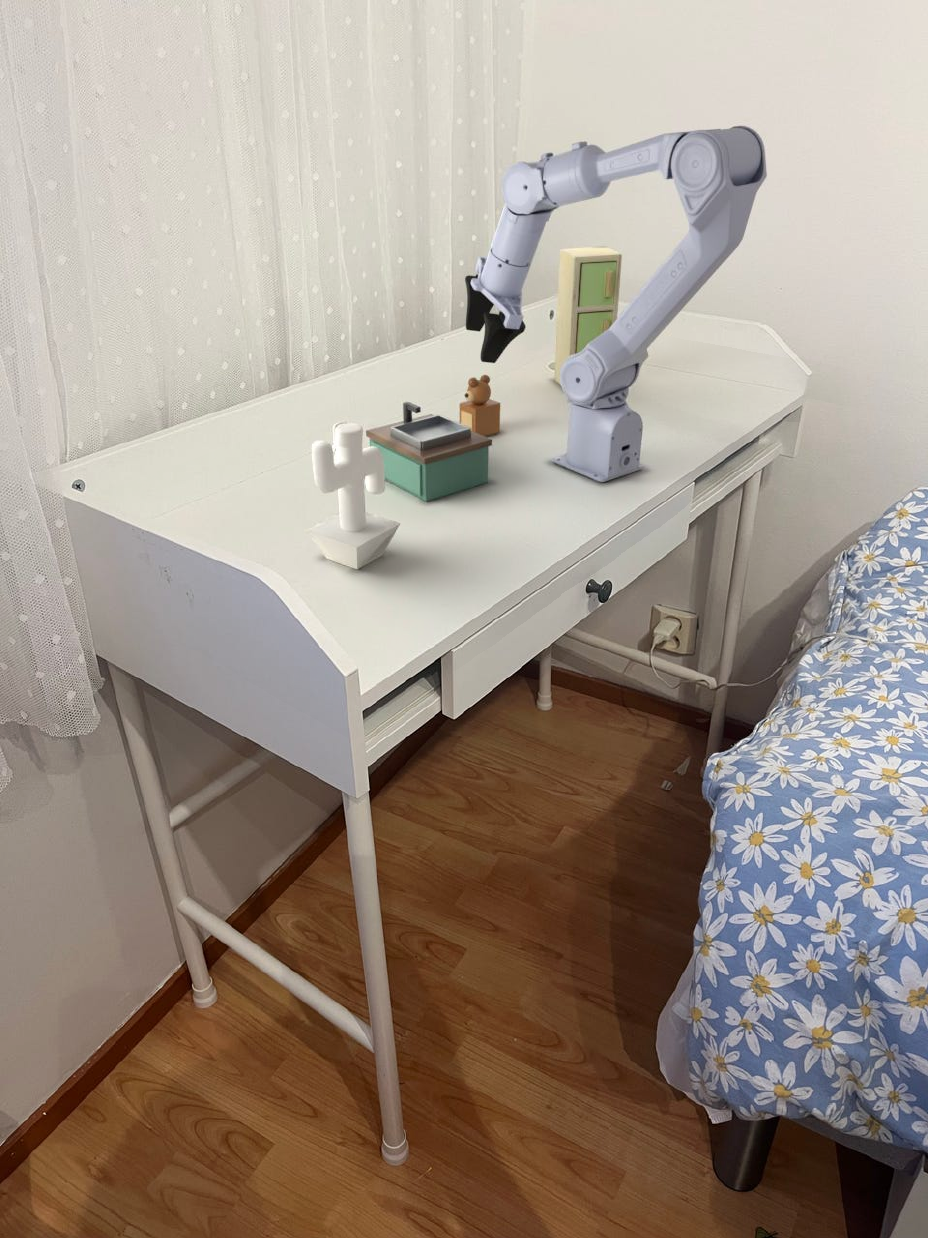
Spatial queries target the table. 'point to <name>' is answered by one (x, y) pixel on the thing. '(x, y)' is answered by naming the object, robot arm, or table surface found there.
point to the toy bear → (480, 408)
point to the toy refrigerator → (585, 298)
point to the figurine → (350, 498)
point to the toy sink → (431, 454)
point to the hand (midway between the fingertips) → (480, 344)
